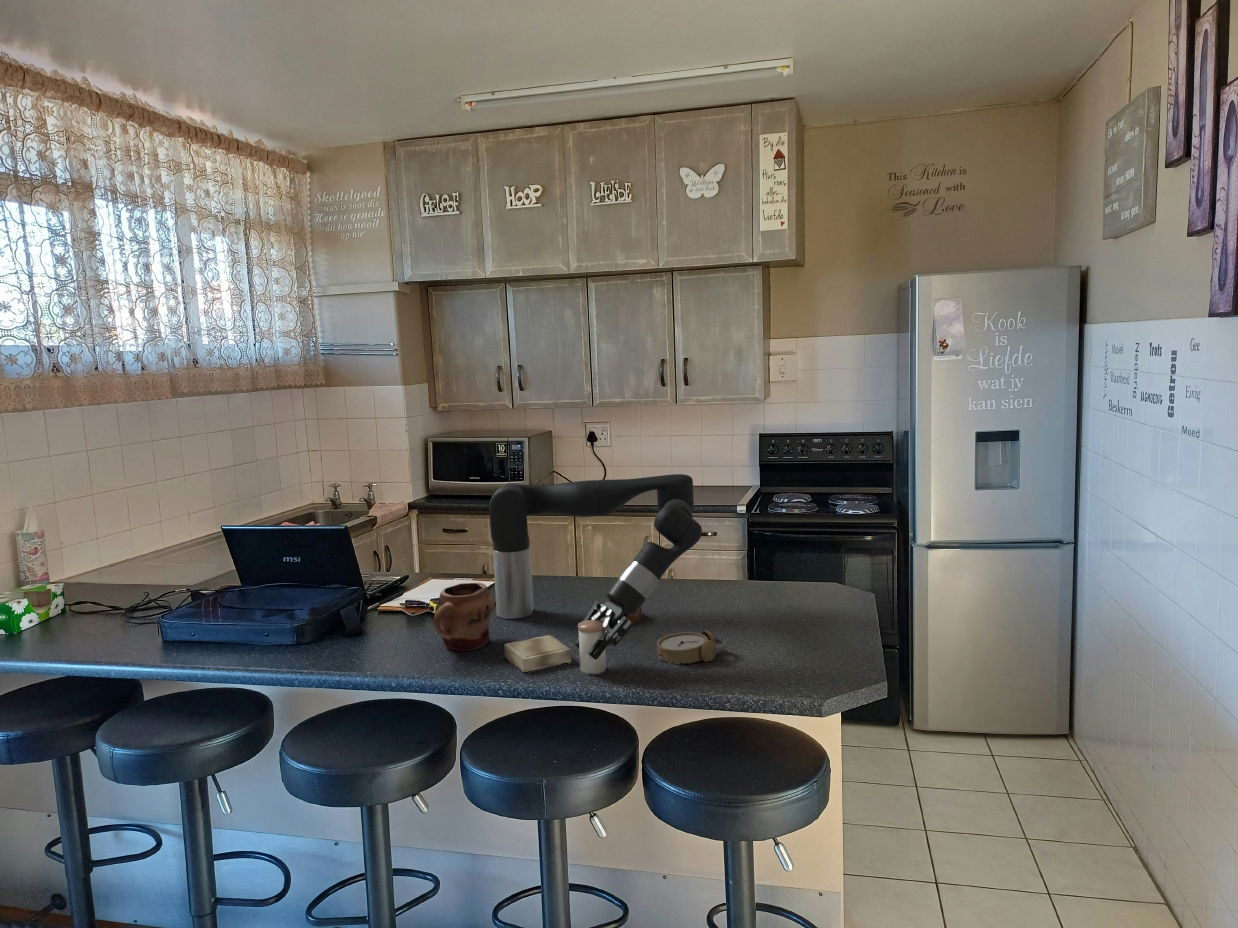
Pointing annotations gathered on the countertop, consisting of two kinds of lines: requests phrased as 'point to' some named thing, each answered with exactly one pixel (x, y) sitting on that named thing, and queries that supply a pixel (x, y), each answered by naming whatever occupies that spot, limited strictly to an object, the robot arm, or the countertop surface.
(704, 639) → the alarm clock
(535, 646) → the plinth
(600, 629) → the canister
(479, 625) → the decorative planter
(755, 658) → the countertop surface
